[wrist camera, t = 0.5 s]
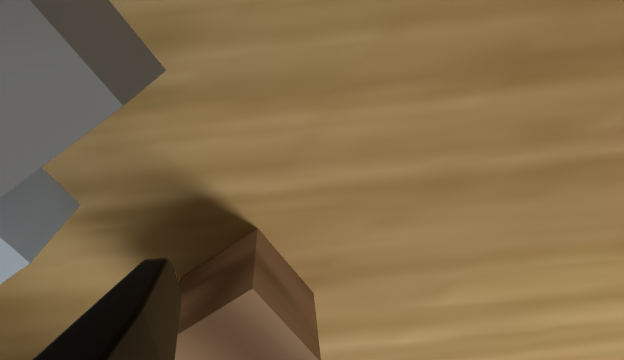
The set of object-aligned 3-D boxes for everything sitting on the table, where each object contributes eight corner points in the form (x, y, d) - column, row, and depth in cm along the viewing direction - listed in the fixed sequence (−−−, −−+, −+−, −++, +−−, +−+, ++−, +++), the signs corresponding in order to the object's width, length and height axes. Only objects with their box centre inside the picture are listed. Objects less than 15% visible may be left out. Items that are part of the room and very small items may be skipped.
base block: (64, 146, 21) (-12, 206, 16) (-48, 32, 19) (-182, 56, 13) (166, 69, 20) (123, 105, 14) (60, -61, 18) (-38, -76, 12)
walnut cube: (239, 336, 26) (231, 412, 22) (180, 276, 24) (157, 347, 20) (313, 292, 25) (321, 362, 21) (257, 227, 23) (252, 288, 19)
